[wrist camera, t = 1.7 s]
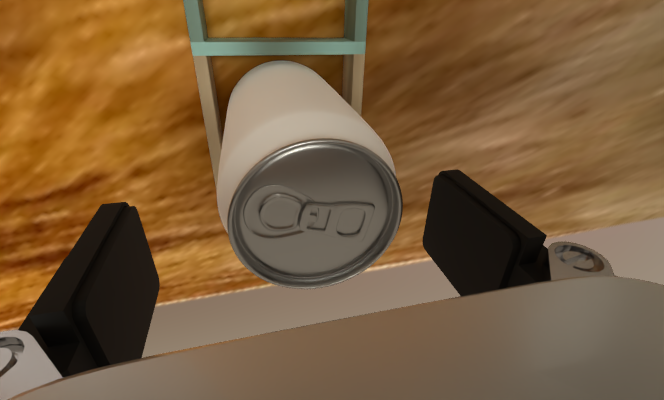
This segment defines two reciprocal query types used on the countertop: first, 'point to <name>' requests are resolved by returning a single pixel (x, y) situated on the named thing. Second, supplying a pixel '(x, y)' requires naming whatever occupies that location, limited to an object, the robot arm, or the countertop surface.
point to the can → (303, 180)
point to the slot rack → (207, 47)
